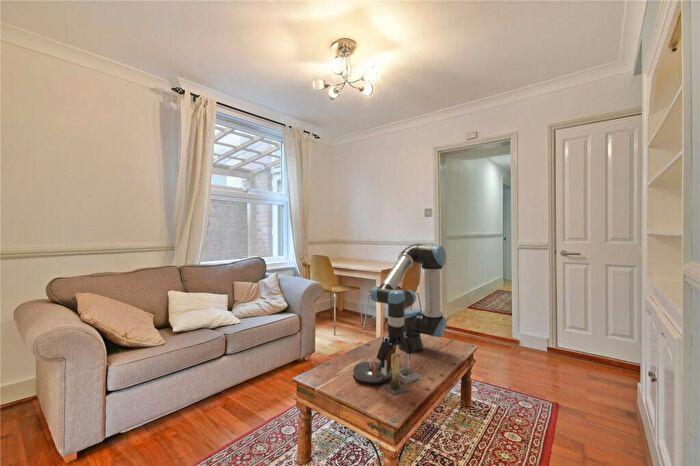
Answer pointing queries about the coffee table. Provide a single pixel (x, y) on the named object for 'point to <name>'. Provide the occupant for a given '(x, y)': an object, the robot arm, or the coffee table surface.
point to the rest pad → (401, 389)
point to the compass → (370, 372)
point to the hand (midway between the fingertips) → (395, 370)
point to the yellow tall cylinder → (395, 371)
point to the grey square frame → (411, 375)
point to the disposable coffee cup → (389, 353)
